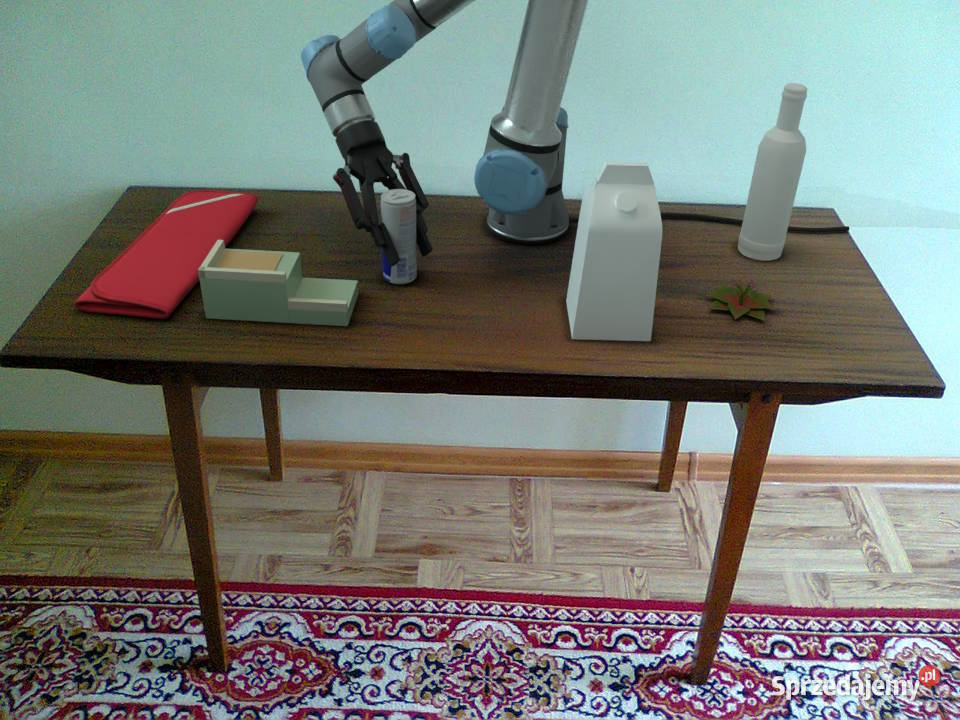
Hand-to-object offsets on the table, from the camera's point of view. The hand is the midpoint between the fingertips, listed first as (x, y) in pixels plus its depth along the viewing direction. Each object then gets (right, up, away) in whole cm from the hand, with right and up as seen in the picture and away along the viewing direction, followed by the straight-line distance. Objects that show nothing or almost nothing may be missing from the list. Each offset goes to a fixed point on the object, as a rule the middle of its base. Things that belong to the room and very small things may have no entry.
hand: (411, 258), depth 148 cm
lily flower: (+53, -8, +1) cm, 54 cm away
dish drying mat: (-41, +1, +10) cm, 42 cm away
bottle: (+62, +3, +18) cm, 64 cm away
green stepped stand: (-20, -8, -3) cm, 22 cm away
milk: (+31, -10, -4) cm, 33 cm away
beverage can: (-2, -3, +5) cm, 7 cm away
